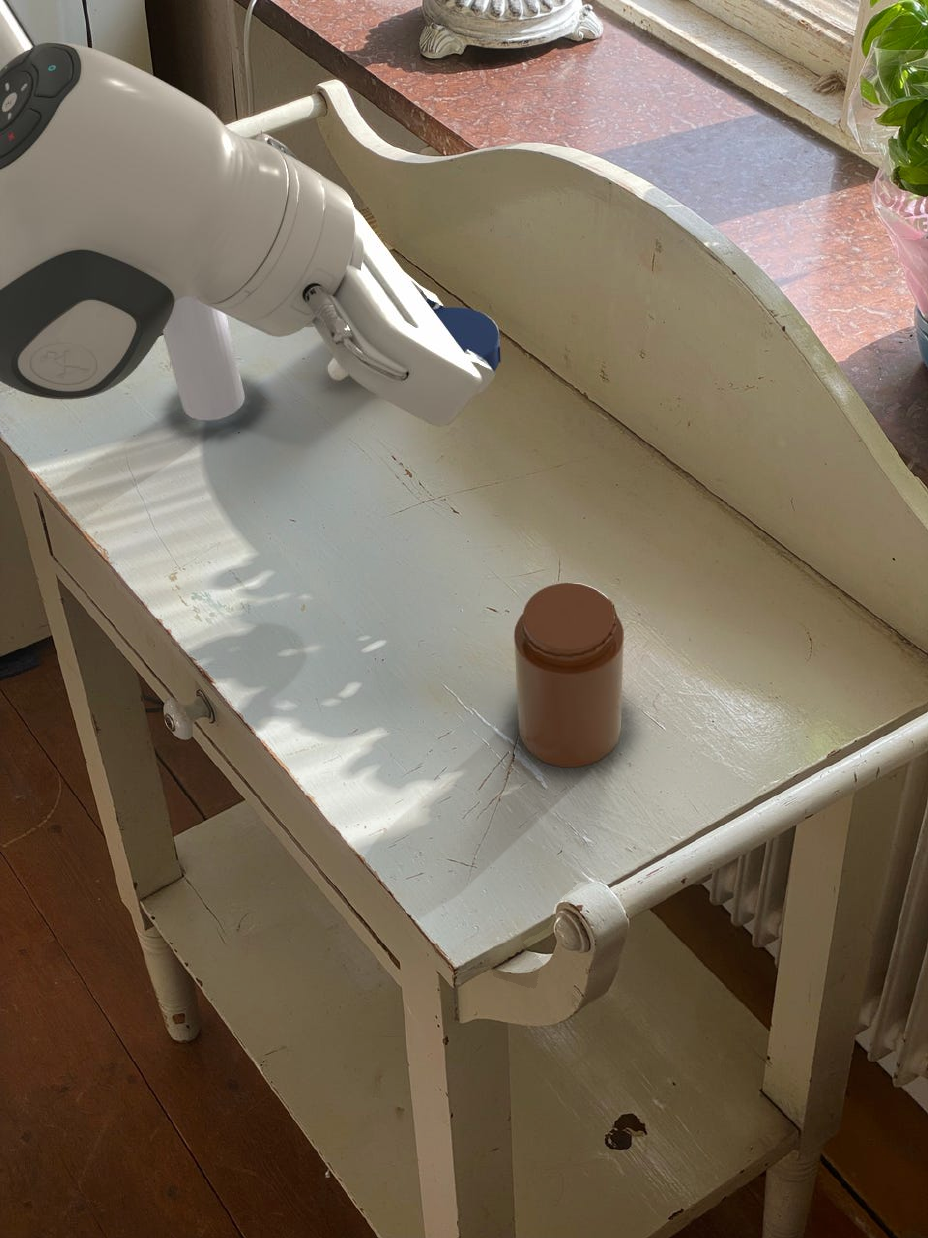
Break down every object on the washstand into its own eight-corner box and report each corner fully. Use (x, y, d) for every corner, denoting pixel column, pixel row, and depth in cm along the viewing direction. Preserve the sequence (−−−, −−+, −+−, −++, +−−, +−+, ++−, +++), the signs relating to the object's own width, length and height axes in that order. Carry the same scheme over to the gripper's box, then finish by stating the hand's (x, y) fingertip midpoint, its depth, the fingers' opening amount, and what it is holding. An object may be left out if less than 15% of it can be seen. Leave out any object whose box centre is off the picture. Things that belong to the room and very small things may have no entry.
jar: (546, 782, 77) (542, 671, 70) (502, 709, 80) (495, 597, 73) (638, 745, 78) (644, 633, 71) (591, 675, 82) (592, 562, 75)
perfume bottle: (246, 376, 104) (190, 126, 89) (262, 422, 100) (206, 168, 85) (170, 395, 103) (101, 145, 88) (183, 442, 99) (114, 188, 84)
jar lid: (496, 325, 86) (495, 302, 85) (503, 385, 82) (502, 362, 81) (400, 333, 86) (397, 311, 85) (402, 394, 82) (399, 371, 81)
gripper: (383, 300, 66) (568, 400, 76) (254, 118, 79) (426, 223, 89) (309, 401, 69) (498, 486, 78) (196, 208, 82) (369, 301, 91)
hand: (458, 345), depth 83 cm, fingers closed on jar lid, 6 cm apart
